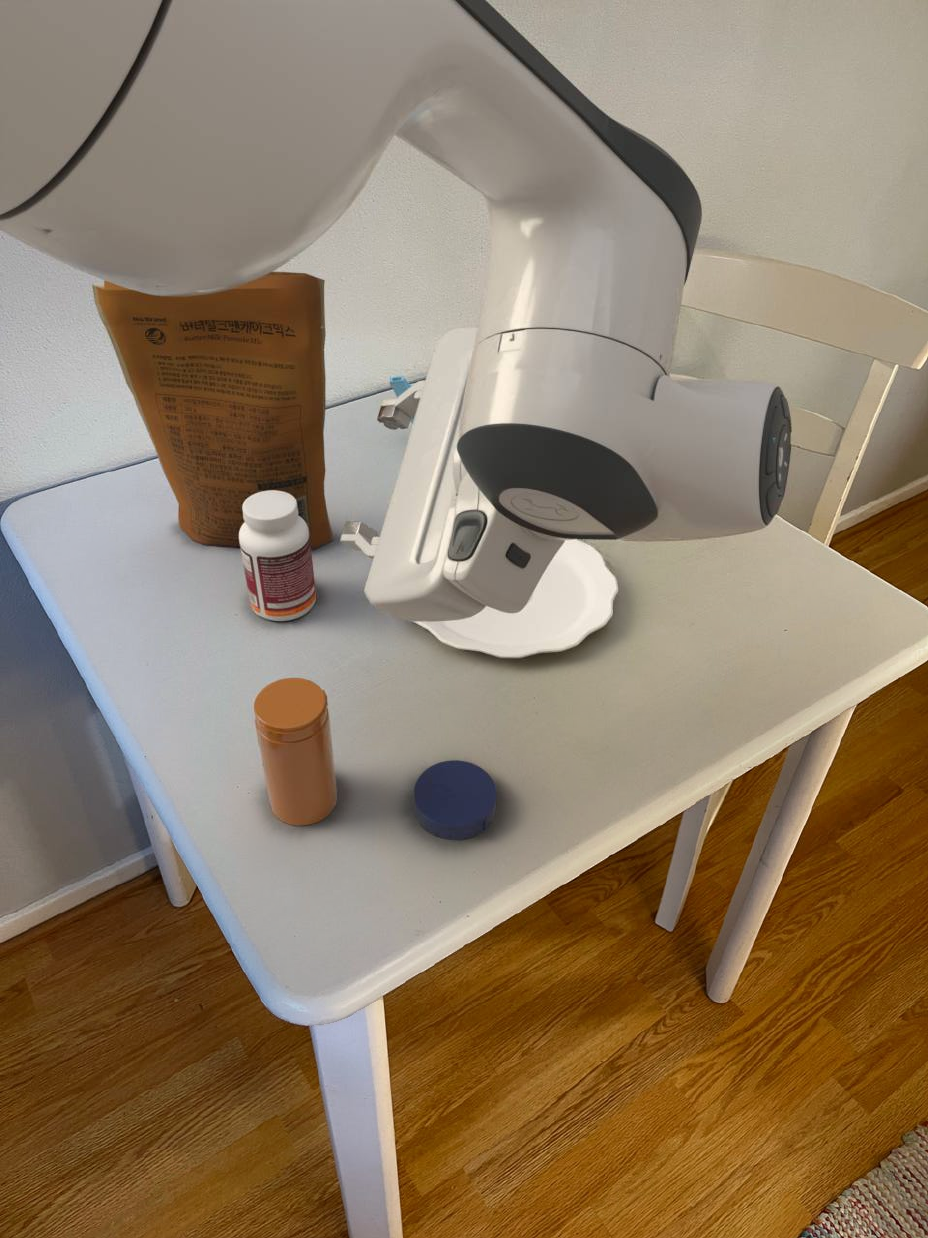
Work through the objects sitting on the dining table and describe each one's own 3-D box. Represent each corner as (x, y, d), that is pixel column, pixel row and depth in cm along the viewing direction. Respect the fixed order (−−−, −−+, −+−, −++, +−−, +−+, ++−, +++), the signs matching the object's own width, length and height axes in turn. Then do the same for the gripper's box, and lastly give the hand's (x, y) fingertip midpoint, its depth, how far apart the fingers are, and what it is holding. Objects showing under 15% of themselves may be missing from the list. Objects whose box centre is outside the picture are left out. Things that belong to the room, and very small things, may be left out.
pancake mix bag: (338, 567, 89) (314, 285, 71) (151, 551, 90) (81, 270, 72) (351, 528, 94) (332, 256, 76) (175, 514, 95) (114, 242, 77)
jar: (280, 835, 65) (263, 738, 58) (262, 785, 68) (244, 688, 62) (346, 812, 67) (337, 716, 60) (325, 765, 70) (314, 668, 63)
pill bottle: (328, 592, 86) (319, 495, 79) (294, 631, 82) (281, 531, 75) (273, 575, 88) (259, 478, 81) (237, 612, 84) (219, 513, 76)
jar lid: (513, 807, 67) (514, 794, 66) (454, 856, 64) (455, 842, 63) (455, 761, 71) (456, 747, 69) (396, 804, 67) (396, 790, 66)
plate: (628, 552, 92) (630, 538, 91) (595, 689, 77) (597, 675, 76) (434, 517, 96) (434, 503, 95) (366, 641, 81) (365, 627, 80)
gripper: (538, 290, 55) (377, 321, 64) (454, 604, 51) (294, 592, 60) (587, 346, 60) (431, 368, 69) (514, 638, 56) (357, 621, 64)
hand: (366, 474), depth 64 cm, fingers open, 8 cm apart
